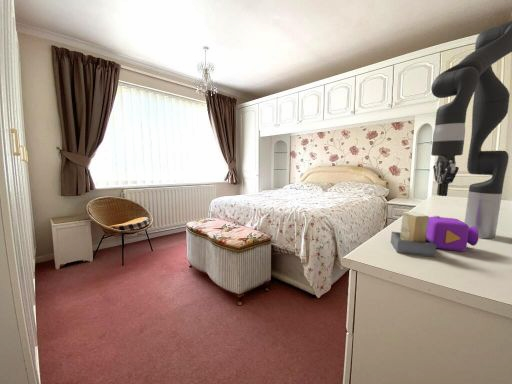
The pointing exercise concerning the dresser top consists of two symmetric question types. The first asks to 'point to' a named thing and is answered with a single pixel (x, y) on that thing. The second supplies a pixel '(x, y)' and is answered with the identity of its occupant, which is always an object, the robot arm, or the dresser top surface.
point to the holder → (413, 246)
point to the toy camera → (451, 233)
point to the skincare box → (414, 227)
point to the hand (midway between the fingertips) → (441, 195)
